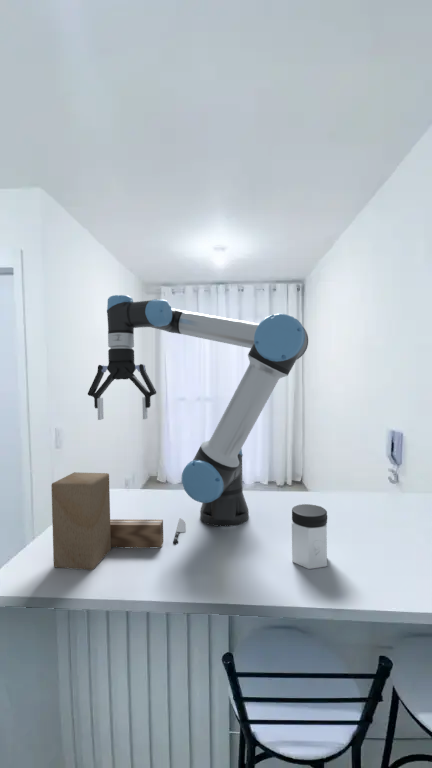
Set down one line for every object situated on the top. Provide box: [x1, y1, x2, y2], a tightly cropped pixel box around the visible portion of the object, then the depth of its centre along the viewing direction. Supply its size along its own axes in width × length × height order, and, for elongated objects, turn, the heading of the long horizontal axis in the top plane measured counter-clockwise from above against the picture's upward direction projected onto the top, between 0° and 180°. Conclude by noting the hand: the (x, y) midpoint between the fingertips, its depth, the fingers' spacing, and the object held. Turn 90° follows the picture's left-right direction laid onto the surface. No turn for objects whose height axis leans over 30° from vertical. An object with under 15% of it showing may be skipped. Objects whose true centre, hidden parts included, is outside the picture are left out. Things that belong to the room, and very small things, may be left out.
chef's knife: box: [172, 517, 187, 545], centre depth 105 cm, size 19×1×3 cm
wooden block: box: [50, 472, 112, 571], centre depth 88 cm, size 10×10×20 cm
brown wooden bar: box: [110, 518, 164, 549], centre depth 96 cm, size 24×4×6 cm, turn 87°
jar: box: [291, 503, 328, 570], centre depth 86 cm, size 9×8×12 cm
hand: (122, 419), depth 109 cm, fingers open, 13 cm apart
